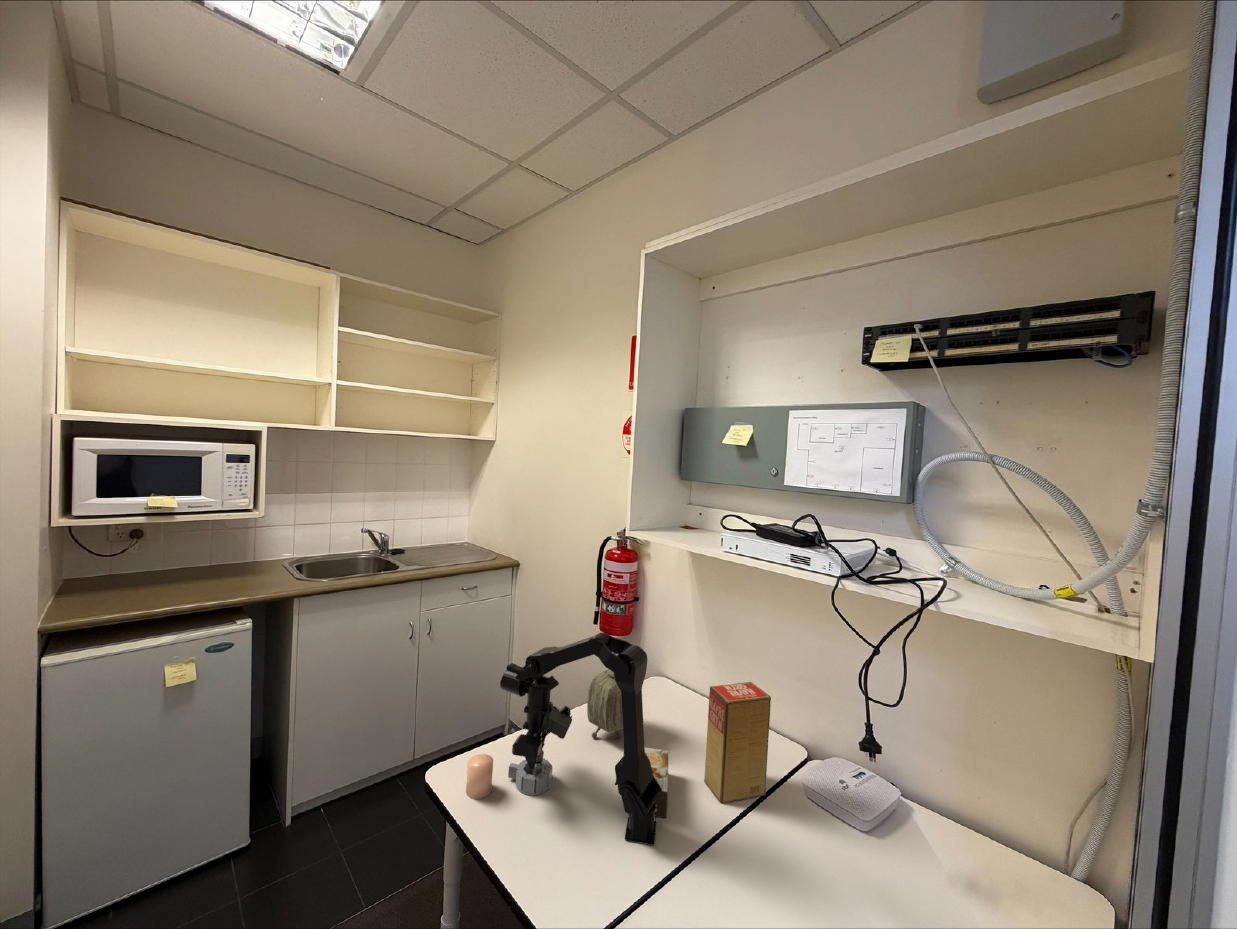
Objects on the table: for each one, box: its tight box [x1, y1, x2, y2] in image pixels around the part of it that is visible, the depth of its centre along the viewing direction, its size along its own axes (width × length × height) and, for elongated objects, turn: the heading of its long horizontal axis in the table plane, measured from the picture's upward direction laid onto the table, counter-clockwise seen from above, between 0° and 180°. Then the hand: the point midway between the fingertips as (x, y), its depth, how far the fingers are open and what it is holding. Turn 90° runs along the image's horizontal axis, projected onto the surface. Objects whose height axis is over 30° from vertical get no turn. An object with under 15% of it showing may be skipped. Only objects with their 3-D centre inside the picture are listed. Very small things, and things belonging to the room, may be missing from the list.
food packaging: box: [703, 681, 772, 804], centre depth 123 cm, size 13×9×25 cm
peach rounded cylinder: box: [465, 753, 494, 800], centre depth 116 cm, size 6×6×7 cm
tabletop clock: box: [586, 652, 623, 739], centre depth 143 cm, size 14×9×25 cm, turn 139°
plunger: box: [529, 749, 545, 775], centre depth 120 cm, size 4×4×7 cm
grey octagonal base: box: [507, 757, 553, 796], centre depth 120 cm, size 9×11×4 cm
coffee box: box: [644, 746, 670, 819], centre depth 119 cm, size 9×6×16 cm
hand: (535, 762), depth 120 cm, fingers closed on plunger, 4 cm apart
